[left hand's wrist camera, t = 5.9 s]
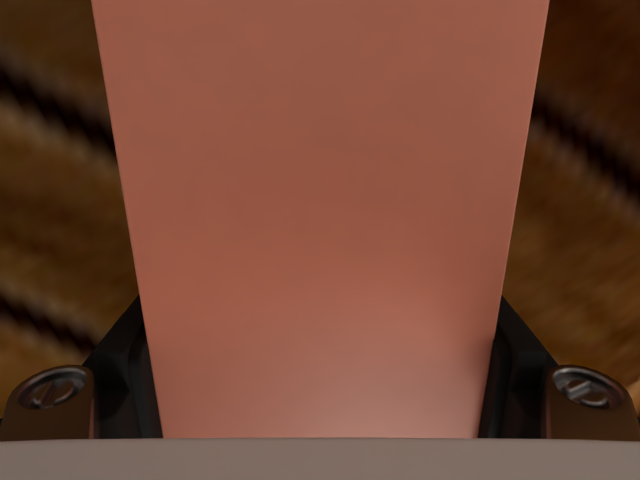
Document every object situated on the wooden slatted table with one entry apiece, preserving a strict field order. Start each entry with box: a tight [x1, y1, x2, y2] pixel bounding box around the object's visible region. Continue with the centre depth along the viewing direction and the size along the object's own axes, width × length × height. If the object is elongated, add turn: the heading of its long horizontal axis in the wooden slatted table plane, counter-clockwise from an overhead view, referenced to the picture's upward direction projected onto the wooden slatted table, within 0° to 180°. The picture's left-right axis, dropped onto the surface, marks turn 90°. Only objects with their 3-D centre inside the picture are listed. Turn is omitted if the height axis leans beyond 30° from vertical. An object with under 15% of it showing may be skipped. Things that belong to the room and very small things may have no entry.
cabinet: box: [91, 0, 549, 438], centre depth 11 cm, size 20×6×9 cm, turn 0°
